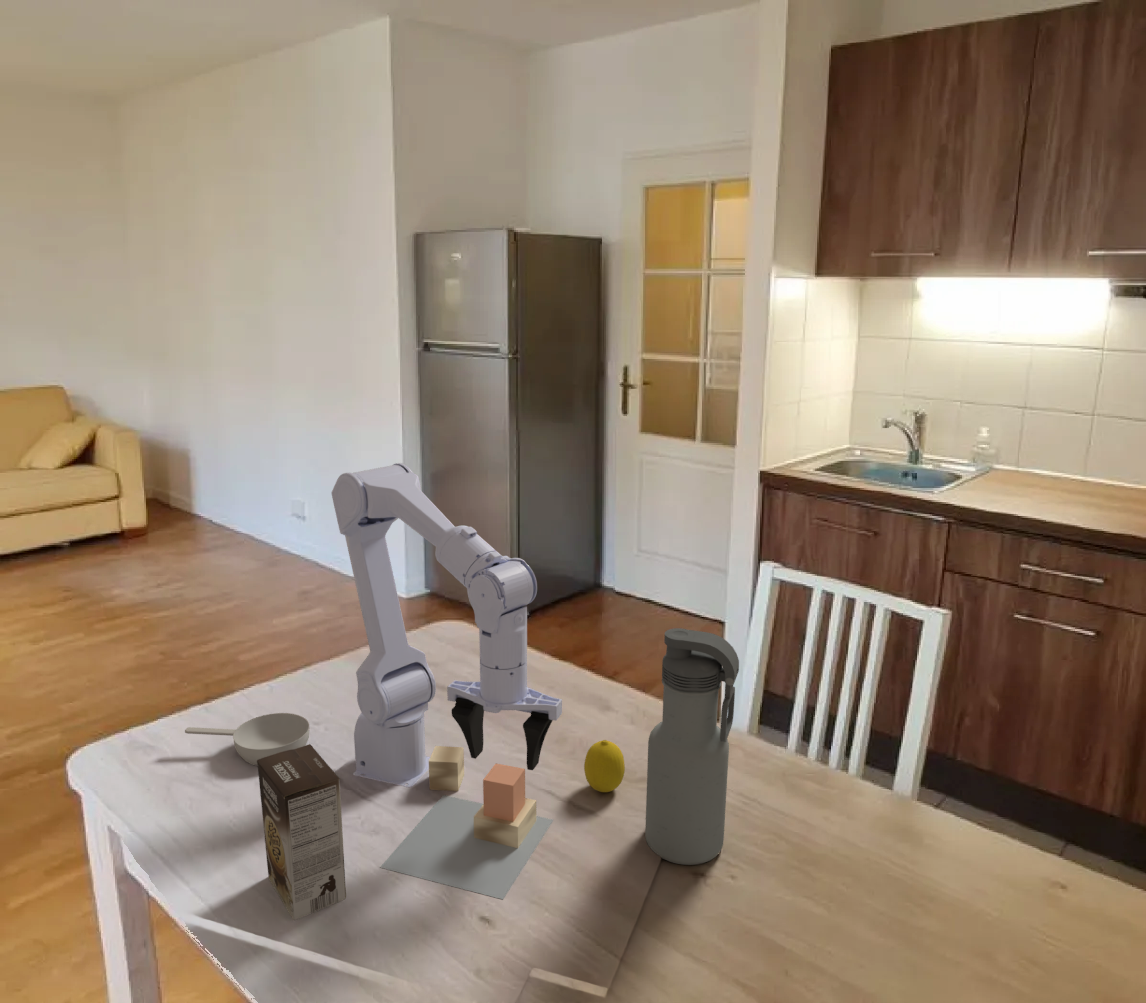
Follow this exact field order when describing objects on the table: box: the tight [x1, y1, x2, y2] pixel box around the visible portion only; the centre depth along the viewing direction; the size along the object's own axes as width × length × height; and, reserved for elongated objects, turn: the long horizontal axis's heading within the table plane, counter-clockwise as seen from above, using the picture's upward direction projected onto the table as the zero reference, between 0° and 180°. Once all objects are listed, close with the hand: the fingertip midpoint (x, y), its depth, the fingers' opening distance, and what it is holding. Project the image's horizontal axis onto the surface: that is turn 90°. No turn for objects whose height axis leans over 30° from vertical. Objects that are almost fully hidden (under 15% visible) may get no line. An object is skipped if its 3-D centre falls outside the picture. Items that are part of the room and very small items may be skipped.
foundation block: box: [474, 797, 537, 848], centre depth 111 cm, size 6×6×3 cm
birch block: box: [428, 745, 465, 792], centre depth 122 cm, size 4×4×5 cm
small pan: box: [184, 712, 310, 767], centre depth 130 cm, size 11×18×4 cm, turn 92°
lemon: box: [583, 739, 626, 793], centre depth 120 cm, size 6×6×8 cm
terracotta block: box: [482, 763, 526, 822], centre depth 110 cm, size 4×4×5 cm
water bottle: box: [644, 627, 740, 866], centre depth 107 cm, size 10×10×28 cm
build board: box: [379, 794, 554, 900], centre depth 109 cm, size 16×16×1 cm
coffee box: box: [257, 743, 347, 921], centre depth 99 cm, size 9×6×16 cm
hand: (504, 760), depth 110 cm, fingers open, 7 cm apart
